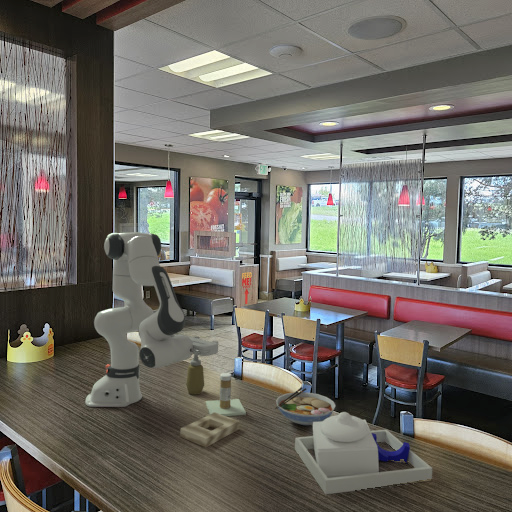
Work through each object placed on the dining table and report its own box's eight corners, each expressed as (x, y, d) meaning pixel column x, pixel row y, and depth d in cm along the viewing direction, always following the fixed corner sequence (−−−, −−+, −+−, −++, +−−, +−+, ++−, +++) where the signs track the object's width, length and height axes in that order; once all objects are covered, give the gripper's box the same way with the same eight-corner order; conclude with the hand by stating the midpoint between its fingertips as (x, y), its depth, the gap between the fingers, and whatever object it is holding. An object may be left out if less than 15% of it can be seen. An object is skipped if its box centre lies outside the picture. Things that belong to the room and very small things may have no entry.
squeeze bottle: (182, 394, 197) (183, 353, 196) (191, 388, 204) (192, 349, 203) (198, 397, 194) (199, 356, 193) (207, 391, 201) (208, 351, 200)
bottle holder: (205, 447, 150) (206, 438, 150) (180, 436, 157) (180, 428, 157) (239, 428, 164) (239, 420, 164) (214, 419, 171) (214, 412, 171)
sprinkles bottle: (225, 403, 185) (226, 371, 184) (232, 407, 182) (233, 374, 181) (217, 406, 181) (217, 374, 181) (224, 410, 178) (225, 377, 177)
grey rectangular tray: (325, 494, 125) (326, 480, 125) (294, 449, 150) (295, 437, 150) (431, 481, 134) (432, 468, 133) (385, 440, 159) (386, 429, 159)
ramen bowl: (319, 442, 156) (319, 419, 155) (262, 425, 168) (263, 404, 167) (344, 417, 177) (345, 397, 177) (293, 404, 189) (294, 385, 189)
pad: (210, 417, 174) (210, 414, 174) (205, 403, 187) (205, 401, 187) (245, 414, 177) (246, 412, 177) (238, 401, 191) (238, 398, 190)
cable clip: (368, 456, 144) (372, 439, 143) (367, 449, 148) (371, 432, 148) (406, 467, 142) (410, 449, 141) (404, 460, 146) (408, 443, 146)
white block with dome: (319, 478, 133) (316, 427, 132) (313, 447, 151) (311, 401, 150) (379, 476, 132) (376, 424, 131) (366, 444, 150) (364, 399, 149)
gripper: (203, 344, 153) (228, 337, 164) (161, 334, 165) (188, 328, 176) (202, 362, 154) (228, 354, 165) (161, 351, 166) (188, 343, 177)
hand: (207, 340), depth 171 cm, fingers open, 8 cm apart
